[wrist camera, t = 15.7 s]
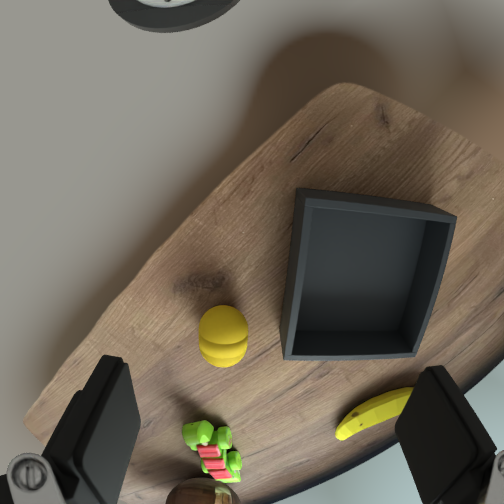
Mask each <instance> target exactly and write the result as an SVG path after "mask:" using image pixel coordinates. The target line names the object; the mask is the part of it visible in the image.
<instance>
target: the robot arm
mask: <svg viewBox="0 0 504 504" xmlns="http://www.w3.org/2000/svg"><path fill="white" fill-rule="evenodd" d="M138 1H139V2H141V3H143V4H145V5H149V6H152V7H161V8H162V7H175V6H180V5H184V4H187V3H190V2H193V1H195V0H171V1H170V0H138ZM168 1H170V2H168ZM140 424H141V419H140V415H139V411H138V407H137V403H136V398H135V394H134V390H133V385H132V380H131V376H130V371H129V366H128V364H127V363H124V362H123V359H122V358H121V357H115V356H109V355H103V356H102V357H101V359H100V361H99V362H98V364H97V366H96V367H95V369H94V371H93V373H92V374H91V376H90V378H89V379H88V381H87V383H86V385H85V387H84V388H83V390H79V391H77V392H76V393H75V394H74V396H73V398H72V399H71V401H70V403H69V405H68V406H67V408H66V410H65V412H64V414H63V415H62V417H61V419H60V421H59V423H58V425H57V426H56V428H55V430H54V432H53V434H52V436H51V438H50V440H49V441H48V443H47V445H46V447H45V449H44V451H43V453H42V455H41V456H40V455H38V454H34V453H23V454H20V455H18V456H16V457H15V458H14V459H12V461H11V462H10V463H9V465H8V468H7V474H5V475H1V476H0V504H117V501H118V498H119V494H120V491H121V487H122V484H123V481H124V477H125V474H126V471H127V467H128V464H129V461H130V458H131V454H132V451H133V448H134V445H135V442H136V439H137V435H138V432H139V429H140ZM395 433H396V435H397V438H398V440H399V443H400V445H401V448H402V450H403V453H404V455H405V458H406V460H407V463H408V466H409V468H410V471H411V473H412V476H413V479H414V481H415V484H416V487H417V490H418V492H419V495H420V498H421V500H422V503H423V504H504V450H503V451H501V452H499V453H498V454H497V455H495V453H494V452H495V451H496V450H497V447H496V446H495V444H494V443H493V441H492V439H491V437H490V436H489V434H488V432H487V431H486V429H485V428H484V426H483V424H482V423H481V421H480V420H479V418H478V417H477V415H476V413H475V412H474V410H473V409H472V407H471V406H470V404H469V403H468V401H467V399H466V398H465V397H464V395H463V393H462V392H461V390H460V389H459V387H458V386H457V385H456V383H455V382H454V380H453V379H452V377H451V376H450V374H449V373H448V372H447V370H446V369H445V367H444V366H442V365H439V366H430V367H427V368H425V370H424V371H423V372H421V374H420V376H419V378H418V380H417V382H416V384H415V386H414V388H413V390H412V392H411V395H410V397H409V399H408V401H407V403H406V404H405V406H404V408H403V410H402V412H401V414H400V416H399V418H398V420H397V421H396V424H395Z"/></svg>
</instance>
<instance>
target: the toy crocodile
mask: <svg viewBox="0 0 504 504" xmlns="http://www.w3.org/2000/svg"><path fill="white" fill-rule="evenodd" d="M213 430H214V427H213V426H212V425H211V424H210V423H209V422H208V421H206V420H203V421H199V422H194V423H189V424H185V425H183V427H182V435H183V438H184V440H185V442H186V444H187V445H188V446H190V448H191V449H192V450H198V453H199V455H200V457H201V467H202V470H203V472H204V473H210V474H211V475H212V477H213V478H214V479H215V480H216V481H218V480H220V481H222V483H229V482H240V481H241V478H240V472H239V471H238V470H240V469H241V467H242V462H241V457H240V454H239V452H238V451H231V452H229V453H228V454H226V449H230V448H231V447H232V436H231V431H230V429H229V427H227V426H226V427H219V428H218V431H213Z"/></svg>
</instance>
